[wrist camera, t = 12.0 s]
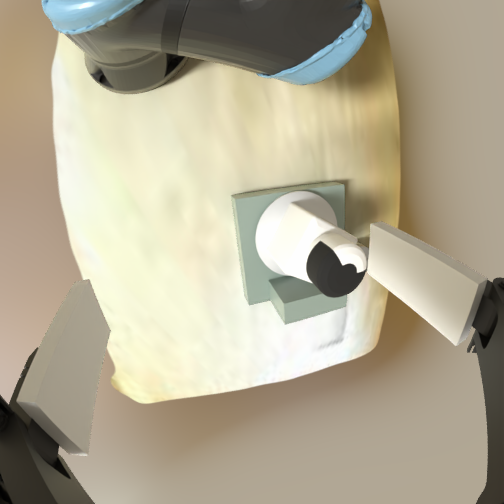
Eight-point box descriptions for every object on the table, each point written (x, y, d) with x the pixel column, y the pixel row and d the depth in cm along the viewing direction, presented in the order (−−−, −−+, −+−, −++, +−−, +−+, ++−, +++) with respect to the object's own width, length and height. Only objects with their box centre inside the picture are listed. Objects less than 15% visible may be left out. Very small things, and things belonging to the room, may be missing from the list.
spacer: (339, 242, 47) (351, 250, 44) (362, 237, 48) (374, 245, 45) (338, 267, 49) (350, 277, 46) (360, 262, 50) (372, 270, 47)
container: (307, 266, 42) (351, 311, 31) (264, 250, 39) (301, 296, 28) (330, 222, 40) (385, 255, 29) (289, 201, 38) (338, 229, 26)
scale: (231, 195, 39) (247, 211, 30) (334, 181, 42) (372, 193, 34) (245, 299, 46) (261, 335, 37) (334, 277, 50) (363, 304, 41)
